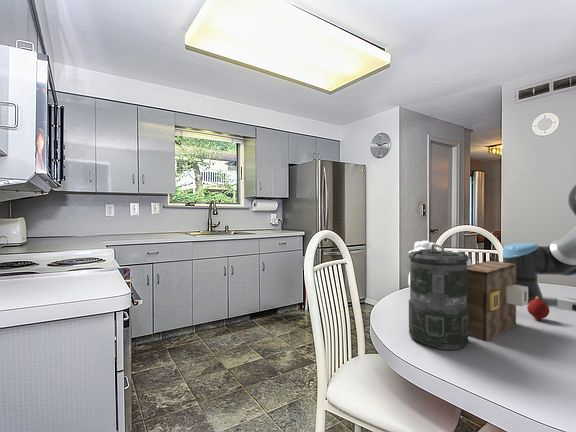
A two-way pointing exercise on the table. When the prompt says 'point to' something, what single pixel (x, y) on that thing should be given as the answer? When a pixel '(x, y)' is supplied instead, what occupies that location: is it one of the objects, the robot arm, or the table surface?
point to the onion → (538, 308)
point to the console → (478, 298)
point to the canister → (438, 298)
